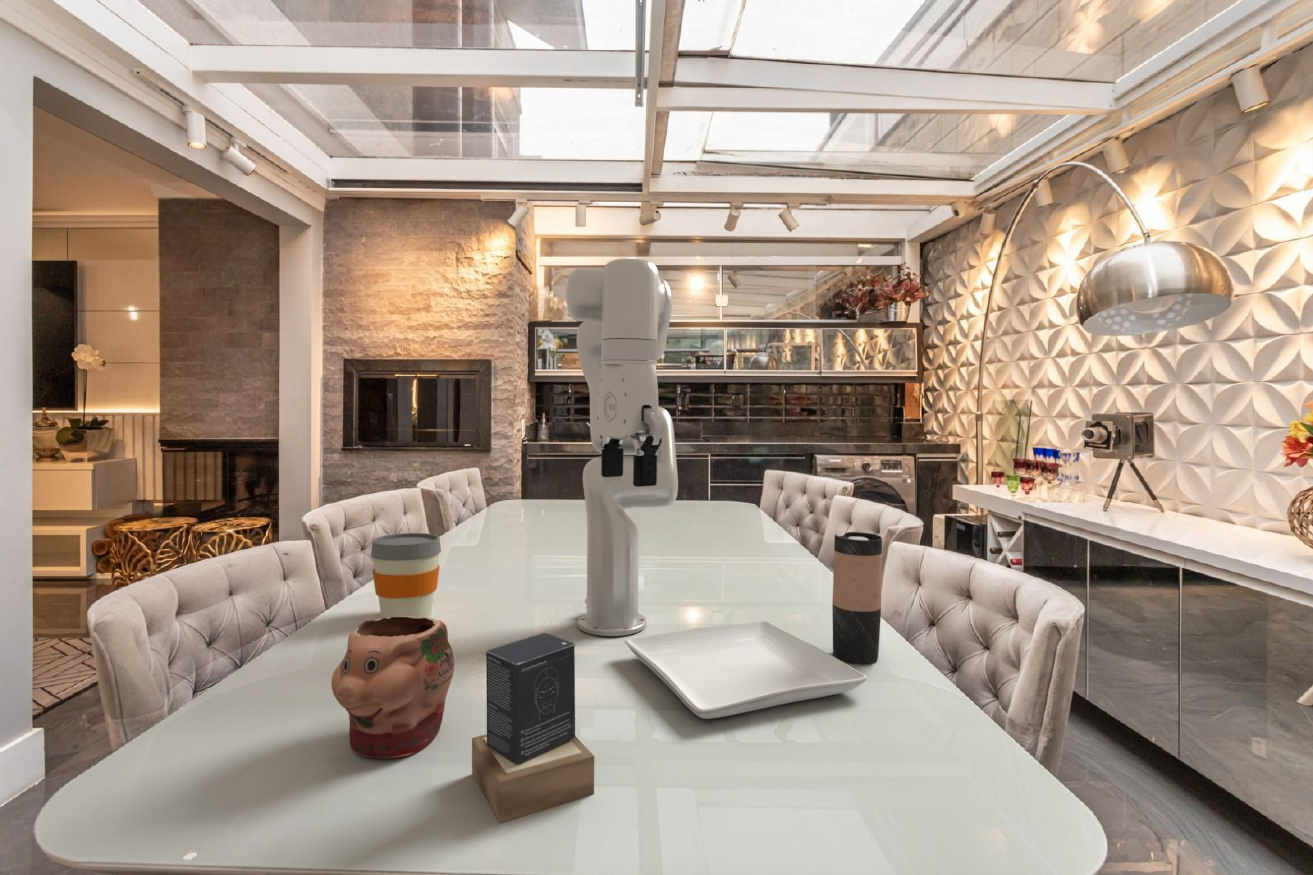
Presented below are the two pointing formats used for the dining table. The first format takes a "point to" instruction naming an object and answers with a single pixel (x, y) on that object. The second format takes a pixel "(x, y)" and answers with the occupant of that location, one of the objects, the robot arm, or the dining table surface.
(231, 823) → the dining table surface
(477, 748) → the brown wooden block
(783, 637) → the square plate
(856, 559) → the travel mug
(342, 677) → the decorative planter
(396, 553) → the reusable coffee cup
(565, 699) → the box
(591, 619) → the robot arm
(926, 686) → the dining table surface
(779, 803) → the dining table surface
